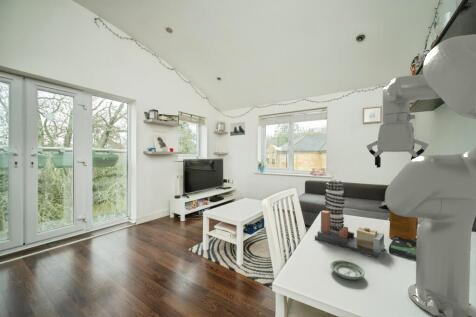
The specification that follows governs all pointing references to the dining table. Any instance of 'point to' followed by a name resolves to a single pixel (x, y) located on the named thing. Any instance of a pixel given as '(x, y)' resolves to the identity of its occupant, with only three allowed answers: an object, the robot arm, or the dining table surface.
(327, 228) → the reddish brown stepped block
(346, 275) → the saucer
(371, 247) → the maple block
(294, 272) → the dining table surface
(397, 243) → the disk drive
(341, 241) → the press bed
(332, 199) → the decorative candle
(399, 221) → the coffee package
